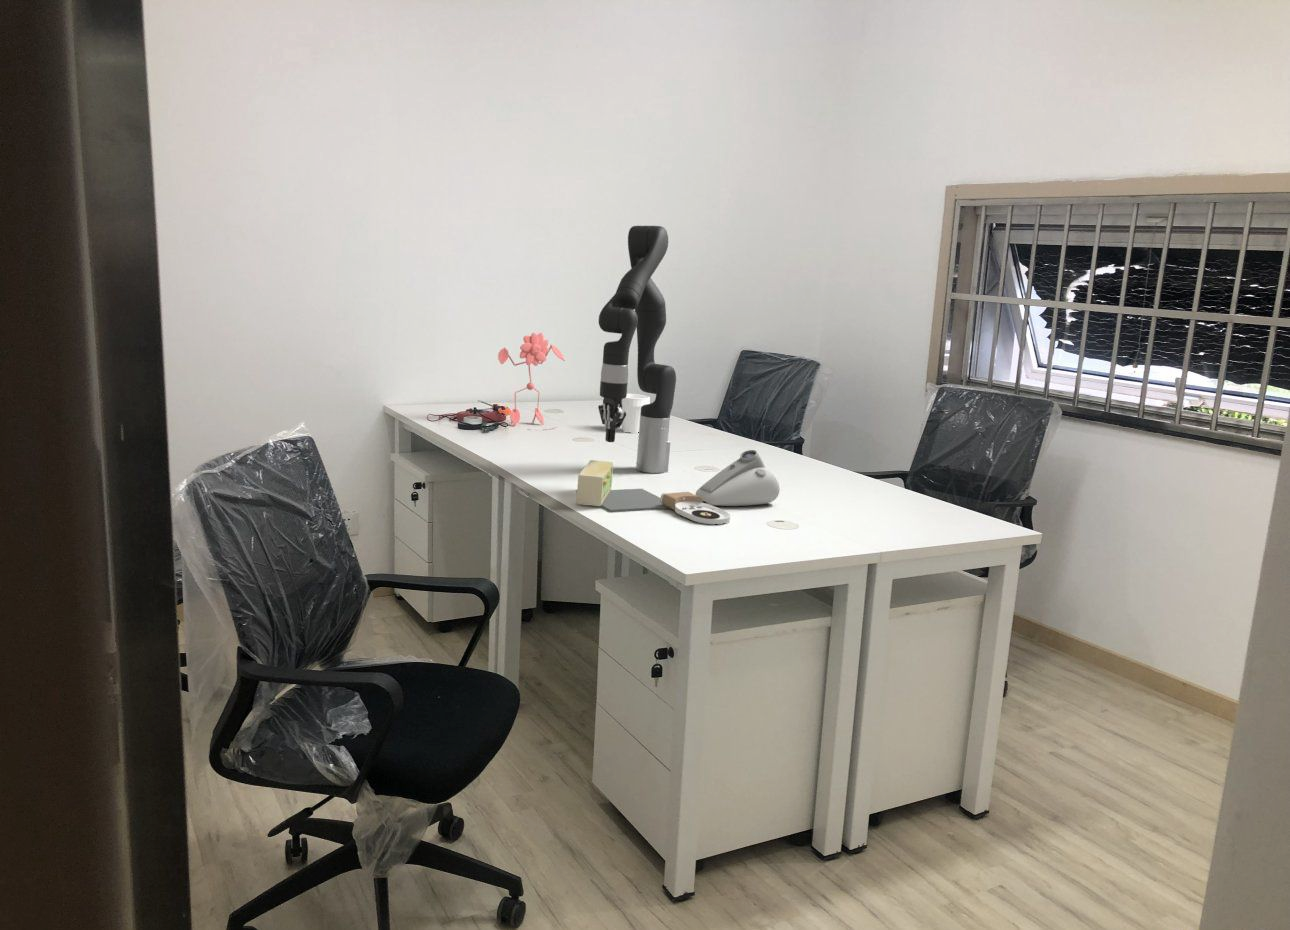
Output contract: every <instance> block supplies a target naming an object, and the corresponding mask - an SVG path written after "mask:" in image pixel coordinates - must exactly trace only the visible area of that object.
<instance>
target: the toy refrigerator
mask: <svg viewBox="0 0 1290 930" xmlns="http://www.w3.org/2000/svg"><path fill="white" fill-rule="evenodd" d="M613 470H614V461H605V460H597V459H596V460H595V459H590V460H589V462H587V464H586V465H585V466H584V468H583V469H582V470H580V473H578V475H577V491H576V504H577V505H586V506H595V507H600V506H601V505H602V503H603V502H604V500H605V498H606V497H607V495H608V493H609V492H610V490H612V485H613V484H612V483H613Z"/></svg>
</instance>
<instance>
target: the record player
mask: <svg viewBox="0 0 1290 930" xmlns="http://www.w3.org/2000/svg"><path fill="white" fill-rule="evenodd" d="M660 503H661V504H663V505H665V506H667V507H669V508H671V510H673V511H674V512H675V513H676V514H678V515H679V516H682V517H684V518H687V519H689V520H691V521H694V522H696V523H699V524H700V523H701V524H706V525H715V524H718V525H724V524H723V523H726V524H728V523H730V520H731V514H730V512H728V511H726V510H724V509H721V508H720V507H718V506H716V505H710V504H708V503H707V502H705V503H704V502H703V501H702V498H701V497H699V496H697V495H696V494H694V493H691V492H689V491H687V490H683V491H680V490H679V491H668V492H662V493H661V495H660ZM727 522H728V523H727Z"/></svg>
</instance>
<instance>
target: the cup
mask: <svg viewBox="0 0 1290 930" xmlns="http://www.w3.org/2000/svg"><path fill="white" fill-rule="evenodd" d="M650 399H651V397H650V396H648V395H644V394H637V393H627V396H626V398H624V399H622V411H623V412H626V417H625V419H624V420H623V422H622V424H621V426H620V427H621V431H622V430H623V431H626V432H631V433H630V434H639V433H638V432H639V425H640V413H641V407H642V406H643V405H646V404H650ZM623 431H622V432H623Z"/></svg>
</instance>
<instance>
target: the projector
mask: <svg viewBox="0 0 1290 930" xmlns="http://www.w3.org/2000/svg"><path fill="white" fill-rule="evenodd" d="M780 490H781V488H780V483H779V481H778V479H777V477H776V476H775V475H774V473H773V472H771V470H770V469H767V468H766V466H765V463H764V461H763V459H762V457H761V456H760V454H759V452H757V450H755V449H749V450H745V451H743V452H741V453H740V454H739V458H738V459H736V460H735V461H733V462H732V463H730V464H729V465H728V466H725V468H723V469H722V470H720V471H719V472H718V473H716V474H715V475H714V476H713V477H711V478H710V479H709V480H707V481H706V482H704V483H703V484H702V485H701V486H700V487H699V488H698V489H697V490H696V491H695V495H697V496H699V497H701V498H702V502H705V503H706V504H710V505H712V506H715V507H747V506H757V505H759V506H760V505H765V504H769V503H772V502H774V501H775V500H777V498H778V497H779V495H780Z"/></svg>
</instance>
